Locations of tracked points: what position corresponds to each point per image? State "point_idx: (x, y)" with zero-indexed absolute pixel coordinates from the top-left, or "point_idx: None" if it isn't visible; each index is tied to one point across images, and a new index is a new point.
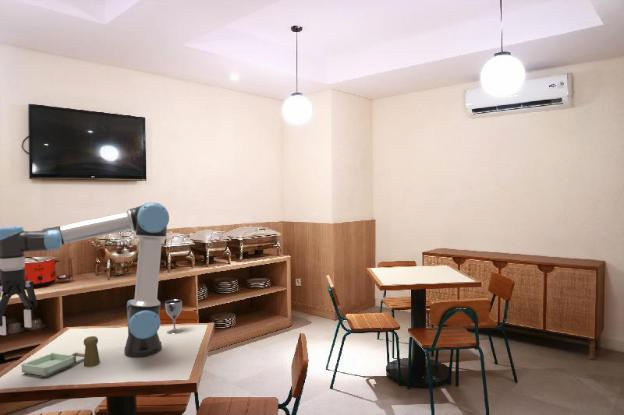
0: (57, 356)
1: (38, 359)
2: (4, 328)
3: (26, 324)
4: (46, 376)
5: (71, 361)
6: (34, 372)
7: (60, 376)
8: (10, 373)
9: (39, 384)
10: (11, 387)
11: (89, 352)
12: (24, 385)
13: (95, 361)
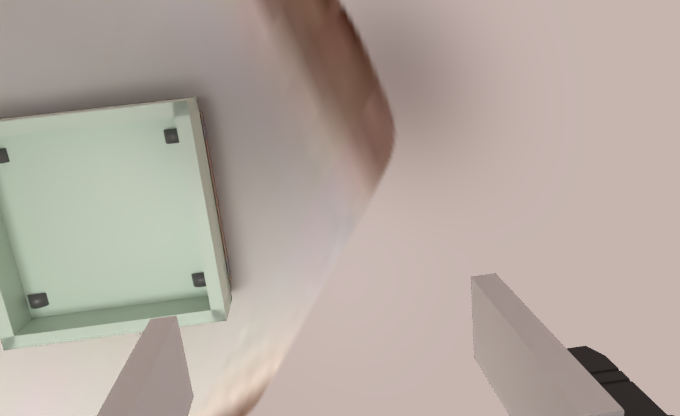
0: (7, 282)
1: (118, 320)
2: (520, 308)
3: (180, 384)
4: None
5: None
6: (212, 199)
7: (131, 46)
8: (253, 368)
9: (264, 51)
10: (358, 165)
11: None
12: (311, 123)
13: None
